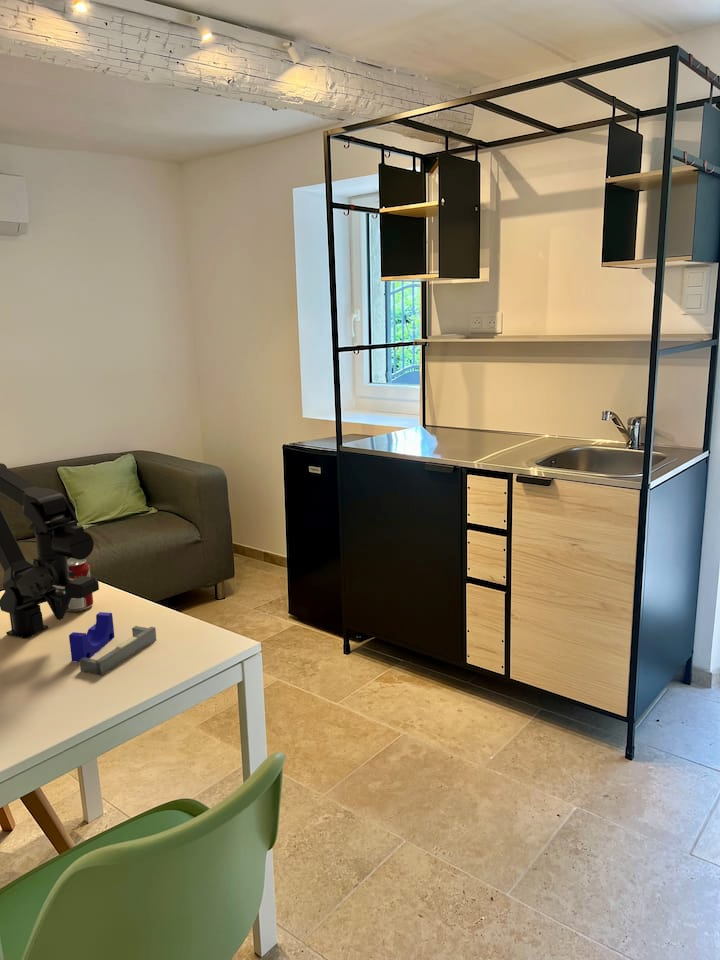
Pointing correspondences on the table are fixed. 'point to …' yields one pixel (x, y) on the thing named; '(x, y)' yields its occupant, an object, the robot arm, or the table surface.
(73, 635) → the cable clip
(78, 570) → the soda can
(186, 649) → the table surface
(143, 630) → the stop bracket
